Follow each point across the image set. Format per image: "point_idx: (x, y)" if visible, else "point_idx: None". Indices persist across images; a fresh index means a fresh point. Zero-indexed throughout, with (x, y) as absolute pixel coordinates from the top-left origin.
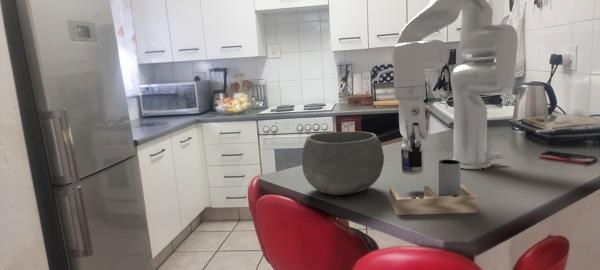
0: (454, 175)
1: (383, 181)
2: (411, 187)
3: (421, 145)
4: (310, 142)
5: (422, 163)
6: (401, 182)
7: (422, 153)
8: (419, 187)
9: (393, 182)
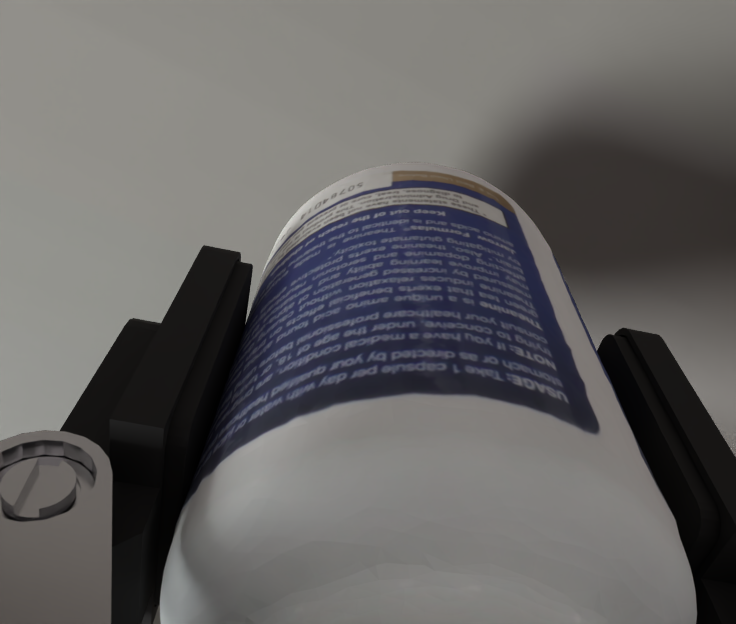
0: None
1: (54, 341)
2: (324, 183)
3: (635, 542)
4: None
5: (553, 277)
6: (116, 200)
7: (589, 377)
8: (349, 103)
9: (104, 272)
